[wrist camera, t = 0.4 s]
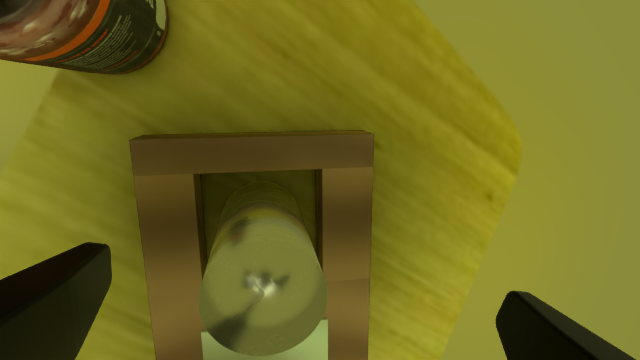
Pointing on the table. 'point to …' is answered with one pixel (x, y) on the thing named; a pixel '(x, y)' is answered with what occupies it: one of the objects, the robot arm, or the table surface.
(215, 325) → the clear glass jar
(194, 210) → the pocket block
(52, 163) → the table surface
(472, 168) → the table surface
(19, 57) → the supplement bottle
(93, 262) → the robot arm
